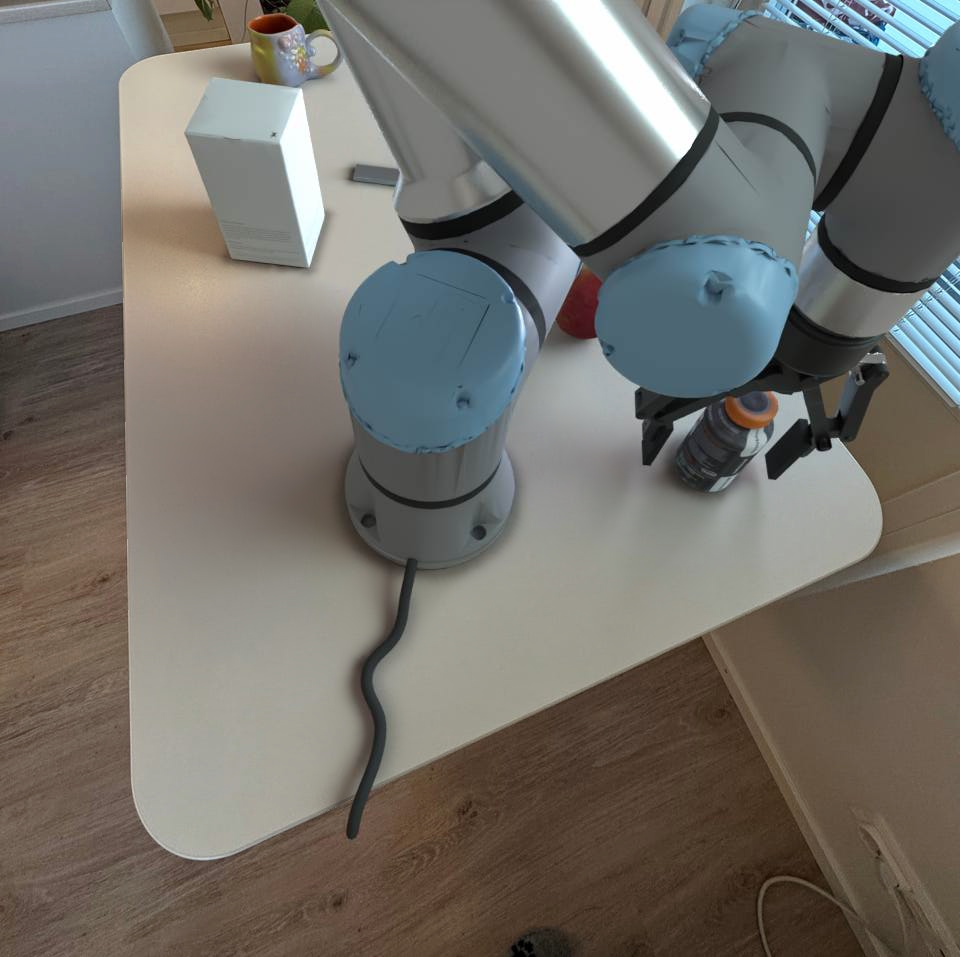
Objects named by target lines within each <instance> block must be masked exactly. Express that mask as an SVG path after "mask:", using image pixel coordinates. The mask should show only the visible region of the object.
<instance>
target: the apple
mask: <svg viewBox="0 0 960 957" xmlns="http://www.w3.org/2000/svg"><path fill="white" fill-rule="evenodd" d="M602 285H603V283H602V282H601V281H600V280H599V279H598V278H597V277H596V275H595V274H594V273H593V272H592V271H591V270H590V269H589V268H588V267H587V266H586V265H585V264H584V263H583V264H582V267H581V269H580V271H579V274H578V275H577V277H576V278H575V280H574V282H573V284H572V286H571V288H570V290H569V292H568V294H567V296H566V298H565V300H564V302H563V304H562V306H561V308H560V310H559V312H558V315H557V317H556V319H555V321H554V322H555V323H556V325H557V326H558V328H559V329H560V330H561V331H562V332H563V333H565V334H566V335H568V336H570V337H572V338H575V339H578V340H592V339H598V337H597V334H596V330H595V315H596V311H597V308H598V304H599V300H598V299H597V296H598V292H599V289H600V287H601V286H602Z"/></svg>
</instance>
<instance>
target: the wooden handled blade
mask: <svg viewBox="0 0 960 957" xmlns="http://www.w3.org/2000/svg"><path fill="white" fill-rule="evenodd" d="M399 174H400V171H399V169H398V168H392V167H386V166H378V165H377V166H376V165H368V164H359V163H357V164H355V168H354V172H353V175H352V178H353V181H354V182H362V183H371V184H379V185H386V186H394V187H395V186H396V183H397V180H398V177H399Z"/></svg>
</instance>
